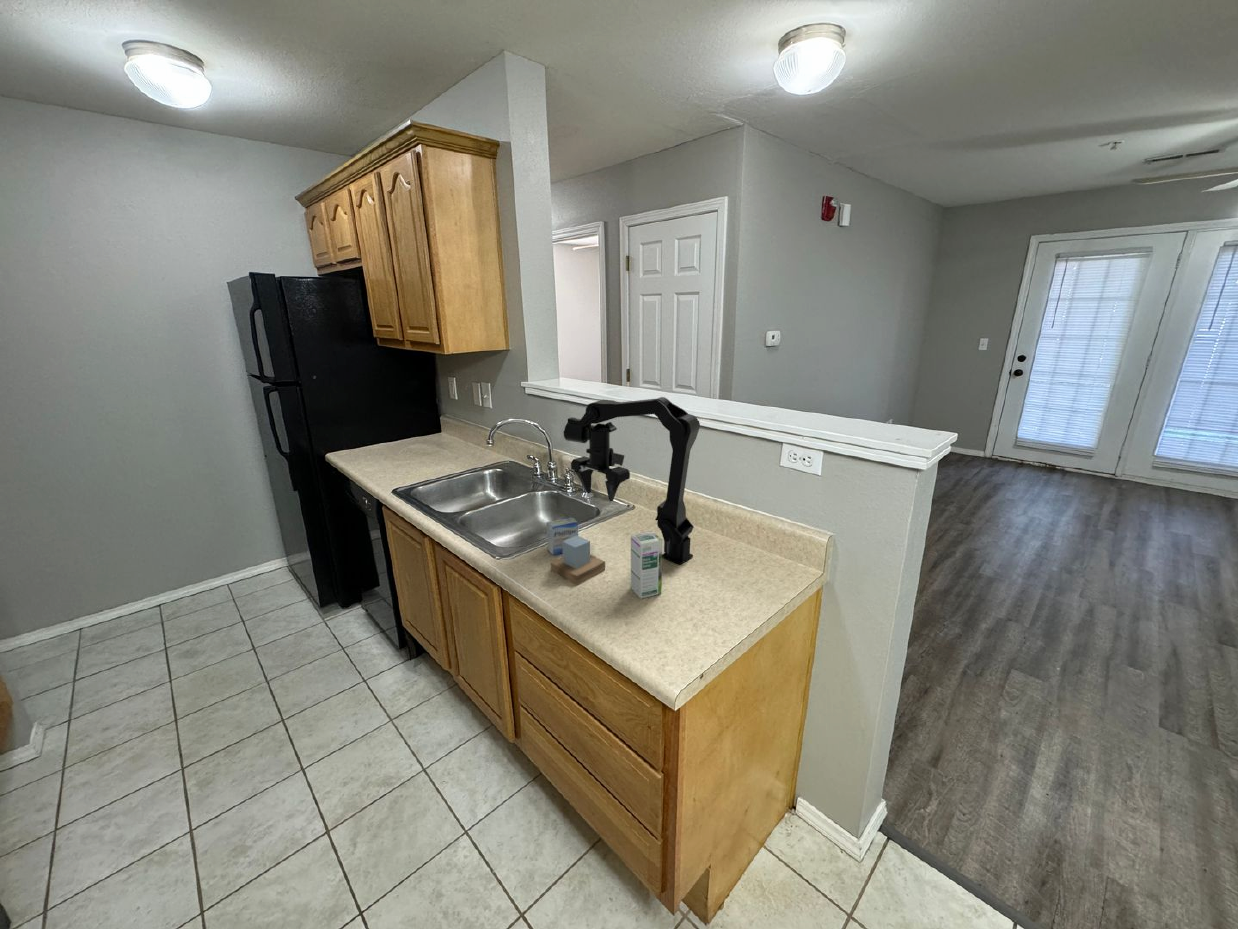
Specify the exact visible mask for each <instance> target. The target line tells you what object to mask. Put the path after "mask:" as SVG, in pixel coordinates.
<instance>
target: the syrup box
mask: <svg viewBox="0 0 1238 929" xmlns="http://www.w3.org/2000/svg"><path fill="white" fill-rule="evenodd" d="M662 554H663V539H662V538H661V537H660V535H658V534H657V533H655V532H654V531H653V530H651V531H648V532H641V533H637V534H631V535H630V588H631V590H632V591H633V592H634V594H635V595H636V596H637V597H638V598H639V599H641V600H642V599H644V598H648V597H652V596H657V595H661V594H662V584H663V583H662V581H663V580H662V579H663V578H662V573H663V572H662V571H663V569H662V568H663V557H662Z"/></svg>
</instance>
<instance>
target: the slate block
mask: <svg viewBox="0 0 1238 929" xmlns="http://www.w3.org/2000/svg"><path fill="white" fill-rule="evenodd" d="M562 546H563V553H562V557H563V563H565V564H567V565H569V566H571V567H573V568H575V569H577V568H579V567H581V566H583V565H585V564H587V563H589V562H590V555H591V541H590V540H588V539H586V538H585V537H581V536H580V535H578V536H577V535H576V536H574V537H572V538H569V539H567V540H565V541H562Z"/></svg>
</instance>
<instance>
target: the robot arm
mask: <svg viewBox="0 0 1238 929" xmlns="http://www.w3.org/2000/svg"><path fill="white" fill-rule="evenodd" d="M646 415H647V416H648V415H654V416H656V417H657V418H658V421H659V422H660V423H661V425H662V426H663V427H664V428H665V429H666V430H667V431H668V433H669V442H670V446H671V449H672V452H671V460H670V469H669V475H668V481H667V482H668V483H667V491H666V498H665V500H663V502H661V503H660V504H658V506H657V507H656V518H655V521H657V528H659V530H660V532H661V534H662V538H663V552H664V553H662V559H665V560H668V561H670V562H672V563H674V564H677V565H681V564H683V563H685V562H686V561H688V560H689V559H692V558H693V557H694V555H693V554H692V553H691V537H689V535H690V534H691V533H692V531H693V529H694V528H695V526H694V525H693V524H692V523H691V521H690V520H689V519H688V517H687V511H686V510H687V508H686V506H685V505H686V504H685V502H684V496H685V495H684V494H685V489H686V483H687V477H688V470H689V469H688V468H689V462H690V460H689V459H690V455H691V454H690V453H691V450H692V448H693V445H694V444H695V443H696V442H695V441H696V440H697V436H698V434H699V430H700V426H701V425H700V424H701V423H700V421H699V420H698V418H697V417H696V416H695V415H693V414H691V413H688V412H687V411H686V410H685V409H684V408H681V407H679V406H678V405H676V404H674V403H672V402H671V401H670V400H669V399H668V398H666V397H664V396H660V397H658V398H649V399H641V400H638V399H637V400H629V401H617V400H612V399H600V400H598V401H593V402H591V403H588V404H587V406H586V407H585V413H584V414H583V416H582V417H581V418H576V417H569V418H567V423H566V424H565V426H564V430H563V438H564V439H565V441H568V442H573V443H580V444H586V443H588V442H589V443H588V446H589V447H588V448H586V450H585V451H586V454H589V457H588V456H584V455H583V456H581V457H577V458H573V459H572V460H571V462H570V468H571V470H574V471H573V473H574V474H576V476H577V478H578V479H579V480H580V482H581V484H582V486H583V488H584V490H585V492H586V494H591V491H592V475H593V473H594V472H598V473H600V474H604V475H605V478H606V480H605V481H604V483H605V487H606V488H605V489H606V492H607V498H608V501H609V502H613V501H614V499H615V496H616V493H617V491H618V489H619V487H620V485H621V483H623V482H625V481H627V480H629V479H631V471H630V470H629V469H628V468H625V467H622V466H623V464H624V460H625V457H626V456H625V455H624V454H621V453H618V452H614V449H613V448H612V447H610V443H611V442H610V436H611V435H610V434H611V433H613V432H615V431H617V429H618V428H617V426H615V425H614V424H613V422H612V421H610V420H613V419H617V418H621V417H622V418H624V417H625V418H626V417H634V416H635V417H637V416H646ZM607 421H609V422H607ZM604 422H606V423H604ZM593 424H595V425H593ZM615 465H619V466H616V467H614V466H615ZM610 467H613V468H610Z"/></svg>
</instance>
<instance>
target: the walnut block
mask: <svg viewBox="0 0 1238 929" xmlns="http://www.w3.org/2000/svg"><path fill="white" fill-rule="evenodd" d="M605 571H606V561H604V560H602V559H600V558H597V557H596V556H594V555H591V554H590V562H589V563H587V564H585V565H583V566H581V567H579V568H577V569H575V568H573V567H571V566H569V565H567V564H565V563H563V556H562V557H560V558H558V559H556V560H554V561H551V562H550V572H551V573H553V574H556V575H557V576H559V577H561V578H562V579H565V580H566V581H569V583H572V584H575V585H576V586H578V585H580V584H582V583H584V582H586V581H588V580H589V579H591V578H594V577H595V576H597V575H599V574H601V573H603V572H605Z"/></svg>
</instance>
